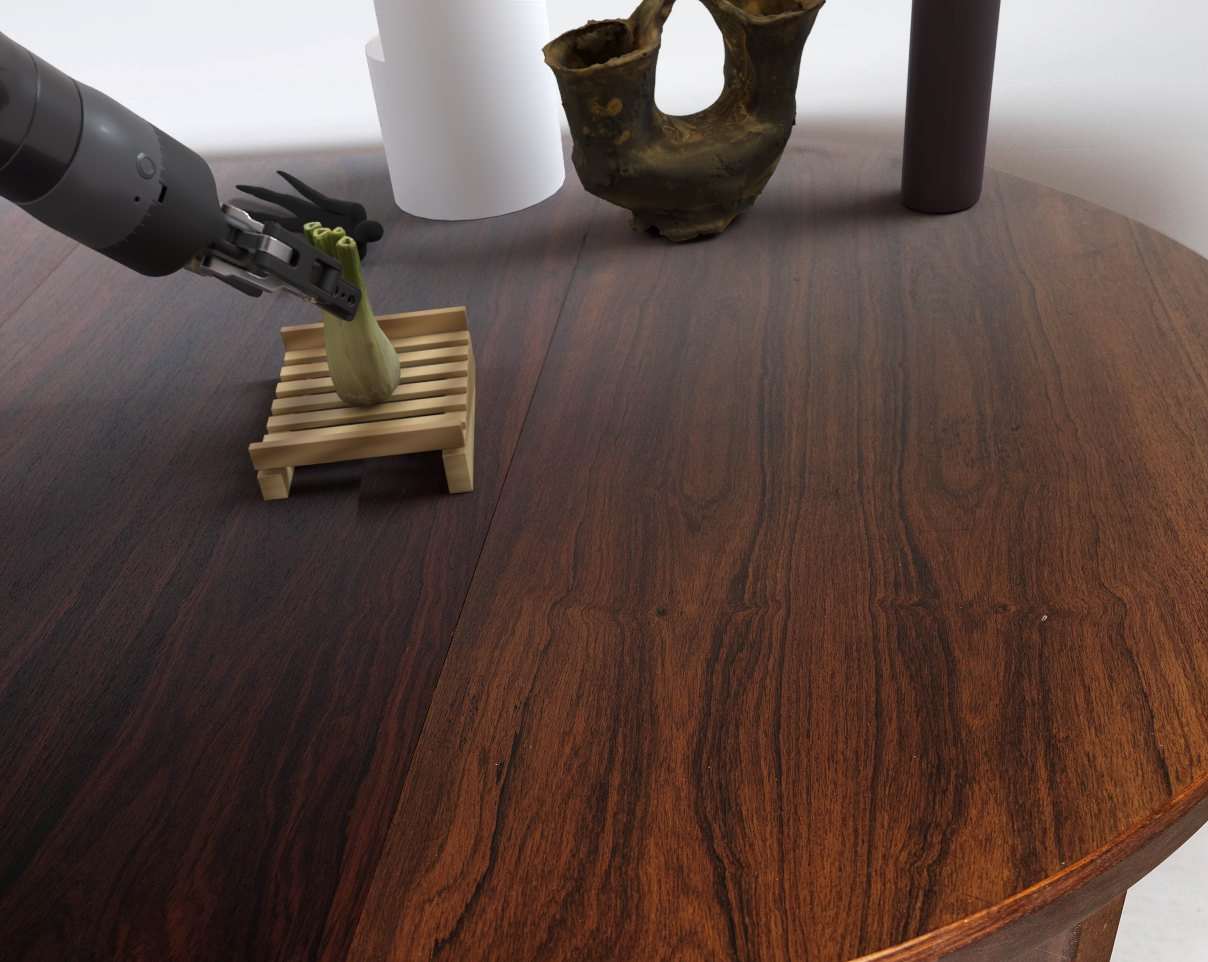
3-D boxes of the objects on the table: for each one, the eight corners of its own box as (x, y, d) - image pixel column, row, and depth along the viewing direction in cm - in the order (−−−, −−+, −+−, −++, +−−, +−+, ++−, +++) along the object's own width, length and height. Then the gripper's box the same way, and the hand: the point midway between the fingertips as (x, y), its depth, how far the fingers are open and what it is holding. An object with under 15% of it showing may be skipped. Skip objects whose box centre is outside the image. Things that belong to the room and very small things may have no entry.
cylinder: (600, 173, 129) (569, -161, 111) (473, 234, 121) (416, -117, 102) (485, 144, 139) (438, -168, 120) (359, 198, 130) (288, -128, 112)
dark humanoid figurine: (163, 158, 124) (301, 197, 108) (246, 159, 129) (389, 196, 113) (169, 247, 127) (303, 297, 112) (249, 245, 133) (388, 291, 117)
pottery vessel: (788, 171, 125) (788, -63, 112) (845, 207, 117) (853, -40, 104) (547, 232, 120) (518, -7, 106) (590, 273, 112) (564, 21, 99)
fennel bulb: (333, 383, 94) (291, 218, 86) (400, 370, 94) (365, 205, 86) (339, 421, 89) (295, 251, 81) (409, 407, 90) (373, 237, 82)
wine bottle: (981, 184, 118) (1021, -216, 98) (979, 215, 113) (1021, -200, 93) (902, 184, 120) (926, -209, 100) (897, 215, 115) (921, -193, 95)
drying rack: (268, 515, 88) (248, 449, 85) (298, 388, 101) (281, 327, 98) (473, 491, 88) (460, 424, 84) (475, 367, 101) (465, 305, 98)
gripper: (8, 225, 74) (216, 329, 88) (171, 266, 67) (368, 371, 82) (48, 98, 74) (251, 223, 88) (217, 126, 67) (407, 257, 81)
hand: (307, 294), depth 85 cm, fingers open, 8 cm apart
